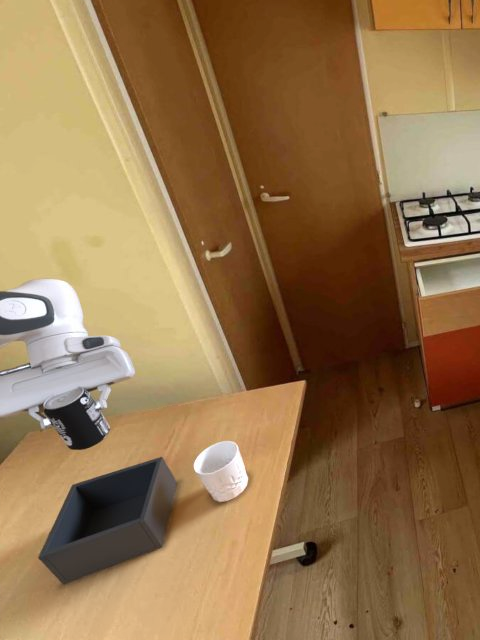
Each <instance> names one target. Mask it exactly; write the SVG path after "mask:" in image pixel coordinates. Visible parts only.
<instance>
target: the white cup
mask: <svg viewBox="0 0 480 640" xmlns="http://www.w3.org/2000/svg"><path fill="white" fill-rule="evenodd" d="M192 467H193V471H194V472H195V474H196V475H197V477H198V478H199V480H200V482H201V484H202V485H203V486H204V487H205V489H206V491H207V492H208V493H209V494H210V495H211V497H212V499H213V500H214V501H216V502H218V503H222V502H223V503H224V502H229V501H230V500H233V499H235V498H237V497H238V496H240V495H241V493H243V492H244V490H245V489H246V487H247V486H248V482H249V476H248V474H247V472H246V467H245V464H244V459H243V457H242V454H241V452H240V448H239V446H238V444H237V443H236V442H235V441H232V440H223V441H219V442H216V443H213V444H212V445H209V446H208V447H206V448H205V449H203V451H201V452H200V453H199V454H198V456H197V457H196V458H195V460H194V462H193V466H192Z"/></svg>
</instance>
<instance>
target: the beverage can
mask: <svg viewBox="0 0 480 640" xmlns="http://www.w3.org/2000/svg"><path fill="white" fill-rule="evenodd" d="M77 387H78V388H79V389H74V390H71V391H68V392H65V393H61V394H58V395H55V396H53V395H54V394H53V395H51V396H50V397H48V398H47V399H46V400H45V402H44V403H43V406H44V412H43V415H44V416H45V417H46V418H48V419H49V421H50V422H51V424H52V425H53V428H54V430H55V431H56V432H57V433H58V435H59V436H60V438H61V439H62V441H63V442H64V443H65V445H66V446H67V448H68V449H70V450H72V451H84V450H88V449H90V448H93V447H94V446H96V445H98V444H99V443H101V442H102V441H104V439H106V437H107V436H108V434H109V432H110V430H111V427H110V426H111V425H110V424H109V423H108V421H107V420H106V417H105V416H104V414H103V413H102V410H100V411H96V410H95V406H94V402H96V401H95V400H94V398H93V397H92V395H91V393H90V392H88V391H86V390H84V389H83V388H82V387H79V386H77Z"/></svg>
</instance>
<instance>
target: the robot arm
mask: <svg viewBox="0 0 480 640" xmlns="http://www.w3.org/2000/svg"><path fill="white" fill-rule="evenodd" d="M13 342H24V343H25V347H26V352H27V356H28V361H29V362H27V363H24V364H21V365H17V366H15V367H12V368H7V369H3V370H1V371H0V418H4V419H5V418H13V417H16V416H19V415H22V414H26V413H28V414H29V416H31V417H32V418H34V419H35V420H37V421H38V422H39V424H40V428H41V430H48V429H50V428H54V426H53V425H52V424H51V422H50V421H49V419H48V418H47V416H46V415H45V414H44V409H45V408H44V406H43V403H44V402H45V400H46V399H47V398H48V397H50V396H51V395H53V394H54V395H53V396H55V395H58V394H61V393H65V392H68V391H71V390H74V389H79V388H78V387H77V386H79V387H82V388H83V389H84V390H86V391H88V392H89V393H90V392H93V391H96V390H97V392H98V393H100V396H99V398H98V399H97V400H96V401H95V402H94V406H95V410H96V411H103V410H106V409H108V404H107V399H108V398H109V396H110V393H111V391H112V389H111V386H112V385H115V384H119V383H121V382H125V381H127V380H130V379H132V378H134V376H135V374H136V370H135V369H136V368H135V367H134V364H133V361H132V359H131V356H130V355H129V353H128V352H127V351H126V350H123V349H122V343H121V341H120V340H119V339H118V338H116V337H114V336H110V335H92V336H91V335H90V336H89V332H88V331H87V329H86V328H85V326H84V312H83V308H82V305H81V301H80V298H79V295H78V294H77V292H76V290H75V289H74V287H73V286H72V285H71V284H70V283H69V282H67V281H65V280H63V279H62V280H61V279H57V278H36V279H31V280H28V281H24V282H23V283H22V284H20V285H18V286H16V287H13V288H10V289H6V290H0V349H2V348H4V347H6V346H7V345H8V344H12V343H13ZM42 413H43V414H42Z"/></svg>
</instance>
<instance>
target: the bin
mask: <svg viewBox="0 0 480 640" xmlns="http://www.w3.org/2000/svg"><path fill="white" fill-rule="evenodd" d="M177 486H178V481H177V479H176V478H175V476H174V475H173V473H172V471H171V469H170V467H169V466H168V464H167V463H166V461H165V458H164V457H163V456H159V457H156V458H153V459H150V460H147V461H143V462H140V463H137V464H134V465H131V466H127V467H125V468H120V469H118V470H114V471H111V472H109V473H105V474H103V475H99V476H96V477H93V478H89V479H86V480H83V481H80V482H77V483H73V484H71V486H70V488H69V491H68V493H67V495H66V497H65V499H64V501H63V504H62V506H61V507H60V510H59V512H58V514H57V516H56V519H55V520H54V522H53V525H52V527H51V529H50V531H49V533H48V535H47V537H46V540H45V541H44V544H43V546H42V548H41V550H40V552H39V554H38V557H37V558H38V559H39V561H40V562H41V563H42V564H43V565H44V566H45V567H46V568H47V569H48V570H49V571H50V572H51V573H52V574H53V575H54V577H55V578H56V579H57V580H58V581H59V582H60V583H61V585H66V584H69V583H72V582H73V581H76V580H77V581H78V580H79V579H82V578H84V577H87V576H90V575H92V574H95V573H98V572H100V571H102V570H105V569H108V568H111V567H113V566H116V565H118V564H121V563H124V562H126V561H130V560H132V559H135V558H137V557H139V556H142V555H144V554H148V553H150V552H153V551H155V550H158V549H161V548H163V545H164V542H165V541H164V540H165V538H166V537H165V536H166V533H167V529H168V524H169V520H170V515H171V511H172V507H173V503H174V499H175V494H176V491H177Z"/></svg>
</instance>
